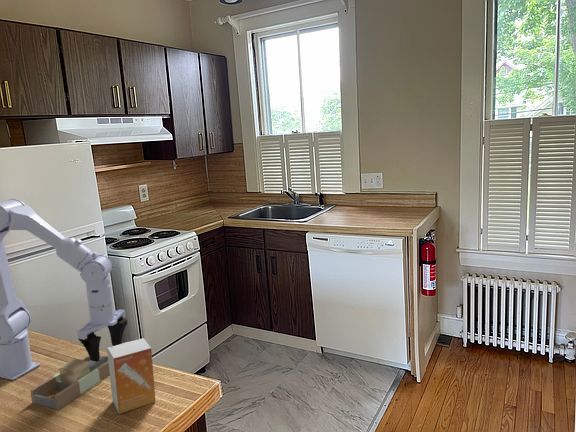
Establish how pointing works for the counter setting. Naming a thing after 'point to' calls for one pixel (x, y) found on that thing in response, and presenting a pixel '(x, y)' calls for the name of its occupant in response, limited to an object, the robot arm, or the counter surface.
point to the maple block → (74, 370)
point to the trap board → (69, 385)
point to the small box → (131, 375)
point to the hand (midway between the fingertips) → (106, 353)
